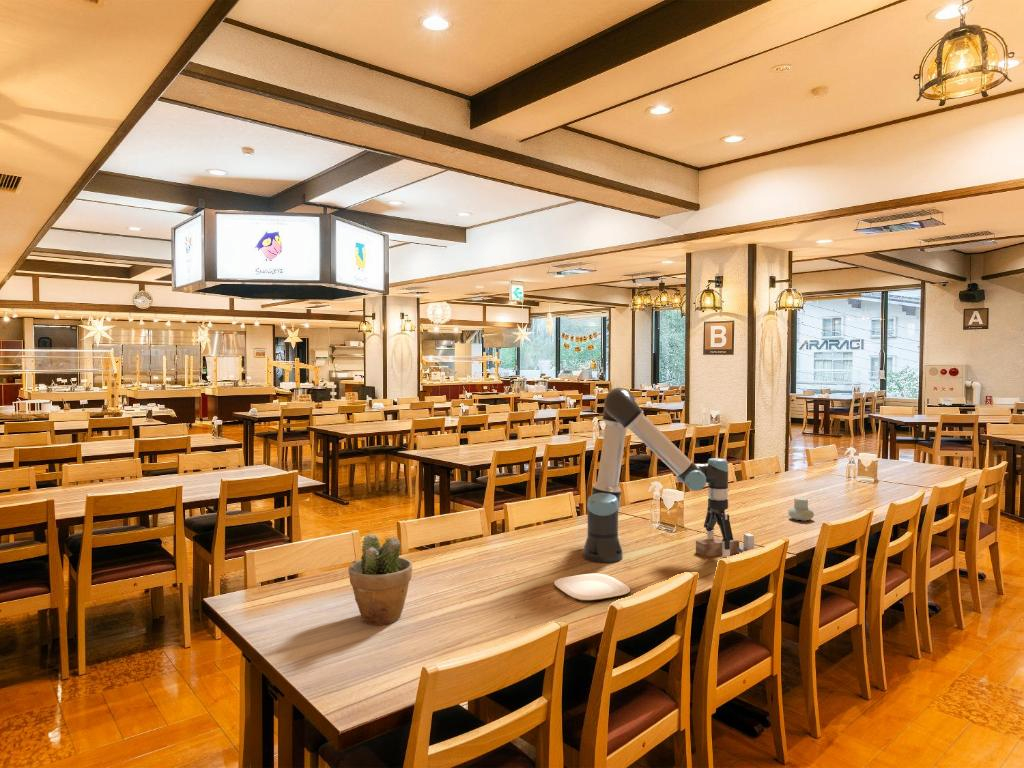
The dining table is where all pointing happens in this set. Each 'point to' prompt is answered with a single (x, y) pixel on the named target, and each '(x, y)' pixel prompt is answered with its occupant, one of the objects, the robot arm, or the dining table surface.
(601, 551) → the robot arm
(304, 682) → the dining table surface
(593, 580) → the plate
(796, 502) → the air freshener
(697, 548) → the beam
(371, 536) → the potted plant
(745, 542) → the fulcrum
